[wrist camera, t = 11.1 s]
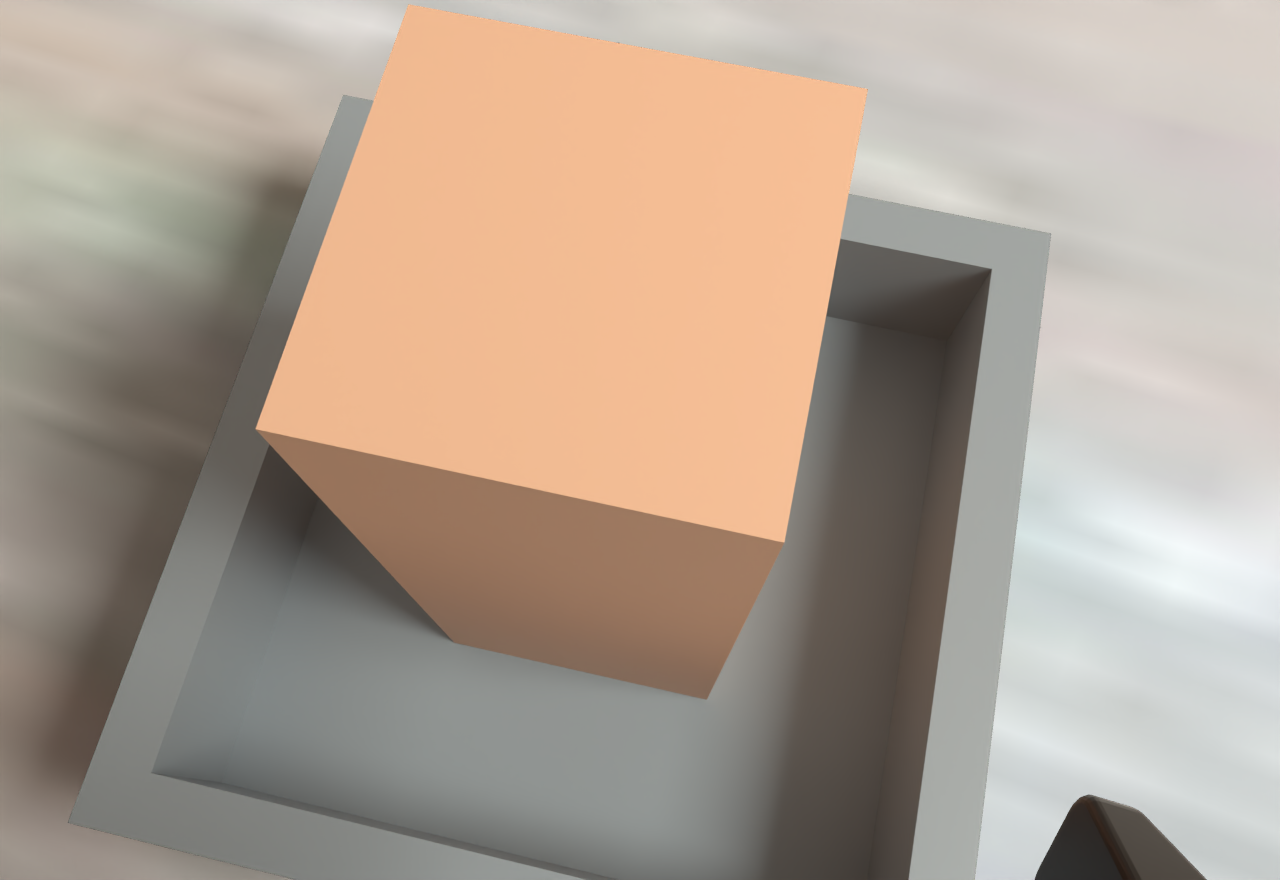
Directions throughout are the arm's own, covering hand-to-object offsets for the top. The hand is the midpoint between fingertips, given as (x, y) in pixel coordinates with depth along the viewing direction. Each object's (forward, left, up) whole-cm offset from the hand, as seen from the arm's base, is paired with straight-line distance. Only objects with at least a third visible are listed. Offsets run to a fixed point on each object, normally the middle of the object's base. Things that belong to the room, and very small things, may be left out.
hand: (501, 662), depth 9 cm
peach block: (+4, +1, -13) cm, 14 cm away
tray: (+4, +1, -14) cm, 14 cm away
